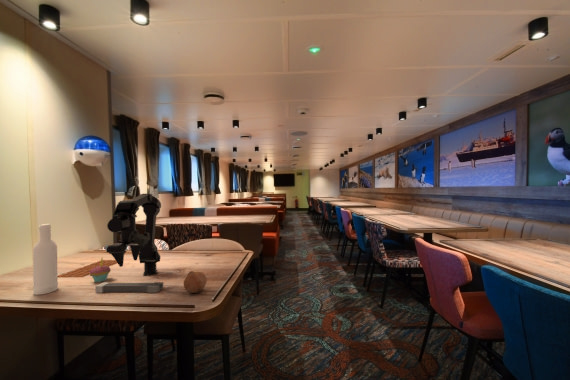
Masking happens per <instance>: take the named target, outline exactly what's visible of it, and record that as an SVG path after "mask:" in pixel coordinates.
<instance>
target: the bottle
mask: <svg viewBox="0 0 570 380" xmlns="http://www.w3.org/2000/svg"><path fill="white" fill-rule="evenodd" d="M38 226H39V227H38V231H39V233H38V234H39V236H38V237H39V240H38V241H37V242H36V243H34V245H33V248H32V275H33V276H32V281H33V285H32V290H33V295H35V296H39V295H45V294H49V293H53V292H55V291H57V290H58V287H59V285H58V284H59V281H58V278H59V277H58V245H57V243H56V241H54V240H53V239H52V238H51V237H52V234H51V231H52V230H51V229H52V226H51V223H44V224H39V225H38Z"/></svg>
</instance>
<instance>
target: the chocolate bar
mask: <svg viewBox="0 0 570 380" xmlns="http://www.w3.org/2000/svg"><path fill="white" fill-rule="evenodd" d="M114 265H118V263H117V261H116V260H115V259H103V262H102V266H108V267H112V266H114ZM98 266H101V260H98V261H95V262H93V263H90V264H87V265H84V266H83V267H82V266H81V267H78V268H76V269H74V270H70V271H68V272H64V273H61V274H59V275H58V274H57V276H58V278H78V279H79V278H84V277H87V276H90V274H89V272H90V271H91V270H92V269H93V268H95V267H98Z"/></svg>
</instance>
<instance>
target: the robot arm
mask: <svg viewBox="0 0 570 380" xmlns="http://www.w3.org/2000/svg"><path fill="white" fill-rule="evenodd" d="M140 207H142V211H143V214H144V215H145V226H144V227H145V229H144V233H139V229H137V228H136V221H137V220H136V218H138V215H137V212H138V211H139V210H140ZM161 208H162V202H161V201H160V200H159V198H157V197H155V196H153V194H152V193H141V194H139V195H138V196H136V197H133V198H132V199H125V200H123V199H122V200H119V201H118V202H117V205H116V206H115V209H114V212H113V214H112V218H111V219H110V220H108V222H107V224H106V225H107V229H108V230H109V232H110V233H117V234H118V235H120V240H118V243H111V244H110V245H109V244H108V245H107V246H106V253H108V254H111V256H112V258H113V259H114V260H116V261H117V265H118V266H119V267H121V268H122V267H123V266H124V257H125V254H126V253H127V252H128V250H127V247H129V248H130V251H131V256H132V259H133V261H137V260H138V259H139V264H143V266H144V267H143V269H144V271H143V277H145V276H150V275H151V276H152V275H157V274H158V269H157V263H159V262H161V255H160V253H159V251H158V246H157V245H156V243H155V239H156V237H155V236H156V224H157V223H156V222H157V216H158V214H159V213H160V212H161Z"/></svg>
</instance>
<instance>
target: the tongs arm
mask: <svg viewBox="0 0 570 380" xmlns="http://www.w3.org/2000/svg"><path fill="white" fill-rule="evenodd" d="M109 284H160V290H159V291H161V290H162V289H164V281H154V282H110V283H109Z"/></svg>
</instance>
